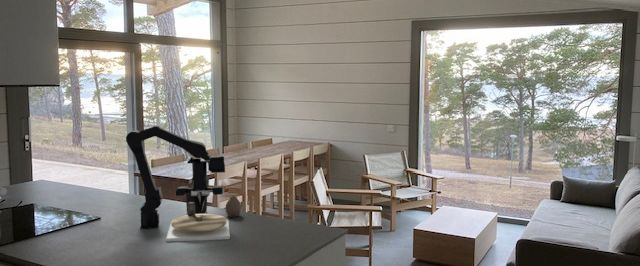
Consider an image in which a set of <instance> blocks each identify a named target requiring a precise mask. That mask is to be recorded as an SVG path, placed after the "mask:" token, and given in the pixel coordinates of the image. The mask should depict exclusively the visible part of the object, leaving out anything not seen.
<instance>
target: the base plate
mask: <svg viewBox="0 0 640 266" xmlns="http://www.w3.org/2000/svg"><path fill="white" fill-rule="evenodd" d="M230 238H231V237H230V223H229V219H226V225H224V226H223V227H220V228H217V229H213V230H207V231H183V230H178V229H175V228H173V227H172V221H171V222H170V225H169V228H168V232H167V235H166V238H165V239H166V243H167V242H189V241H190V242H191V241H210V240H211V241H214V240H230Z"/></svg>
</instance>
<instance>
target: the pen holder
mask: <svg viewBox="0 0 640 266" xmlns="http://www.w3.org/2000/svg"><path fill="white" fill-rule="evenodd" d="M195 191H199V190H195ZM201 195H202V193H200V198H201ZM185 199H186V203H185V204H186V213H187V214H188V203H189V202H195V214H207V211H208V197H206V199H205V202H204V205H203V209H202V211H200V209H199V207H198V205H197V203H196V201H195V200H194V198H193V197H191V193H185Z"/></svg>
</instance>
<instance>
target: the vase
mask: <svg viewBox="0 0 640 266" xmlns="http://www.w3.org/2000/svg"><path fill="white" fill-rule="evenodd" d="M225 213H226V215H227V216H228V217H229V218H235V217H236V218H237V217H238V216H239V215H240V214H241V213H242V204H241V201H240V200H239V199H238V197H237V196H236V195H231V196H230V197H229V199H228V201H227V202H226V204H225Z"/></svg>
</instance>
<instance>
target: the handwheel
mask: <svg viewBox="0 0 640 266" xmlns="http://www.w3.org/2000/svg"><path fill="white" fill-rule="evenodd" d="M226 220H227V218H226V217H225V216H223V215H219V214H215V213H214V214H213V213H204V214H195V202H189V203H188V213H187V214H186V215H181V216H178V217H175V218H174V219H172V220H171V222H172V227H173V228H175V229H178V230H183V231H207V230H213V229H217V228H220V227H223V226H224V225H226Z"/></svg>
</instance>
